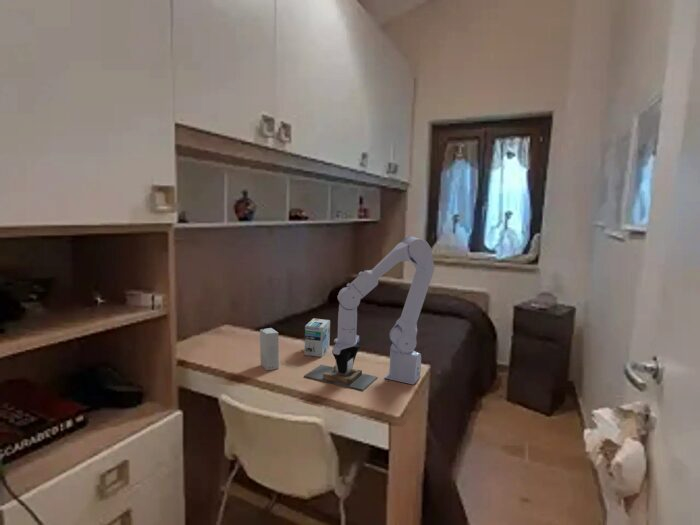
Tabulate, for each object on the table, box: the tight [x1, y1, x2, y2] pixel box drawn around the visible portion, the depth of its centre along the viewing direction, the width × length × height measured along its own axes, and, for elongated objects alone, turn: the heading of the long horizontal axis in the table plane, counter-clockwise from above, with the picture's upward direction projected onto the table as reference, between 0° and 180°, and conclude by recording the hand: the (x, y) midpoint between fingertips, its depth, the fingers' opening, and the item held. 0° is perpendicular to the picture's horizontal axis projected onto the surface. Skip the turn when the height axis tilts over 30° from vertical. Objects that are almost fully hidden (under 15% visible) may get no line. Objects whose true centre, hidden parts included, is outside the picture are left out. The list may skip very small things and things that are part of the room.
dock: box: [303, 364, 378, 392], centre depth 140 cm, size 20×11×2 cm, turn 65°
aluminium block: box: [335, 357, 354, 378], centre depth 139 cm, size 4×4×6 cm
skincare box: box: [259, 327, 280, 371], centre depth 146 cm, size 6×4×12 cm
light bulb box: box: [304, 318, 331, 358], centre depth 162 cm, size 11×7×11 cm, turn 168°
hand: (345, 370), depth 139 cm, fingers open, 4 cm apart
